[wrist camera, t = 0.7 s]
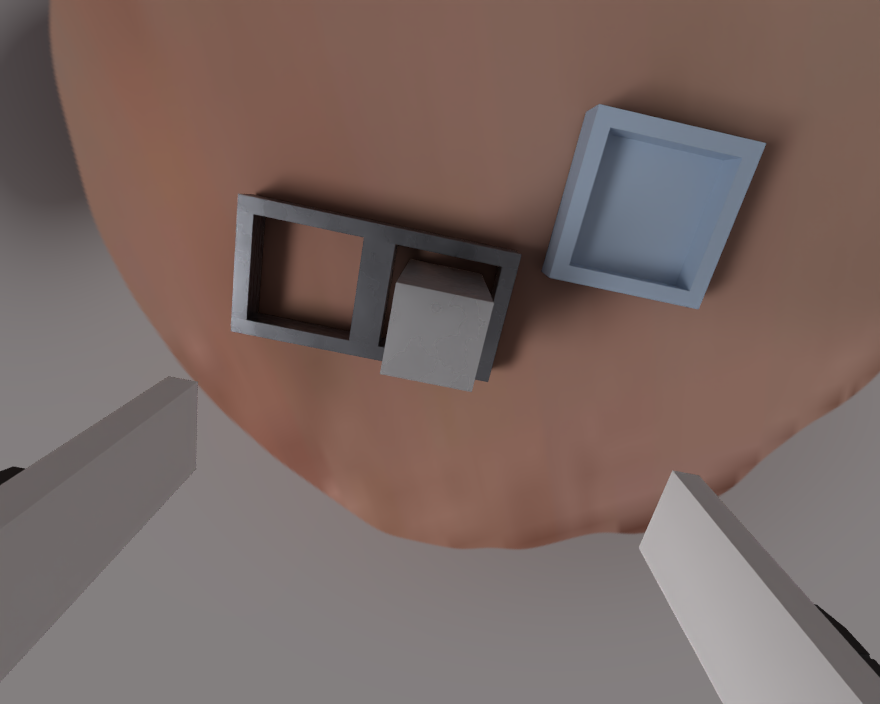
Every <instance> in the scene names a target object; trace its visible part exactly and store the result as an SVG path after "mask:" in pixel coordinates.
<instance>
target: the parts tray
mask: <svg viewBox="0 0 880 704" xmlns="http://www.w3.org/2000/svg"><path fill="white" fill-rule="evenodd" d="M765 145H766V143H763V142H759V141H755V140H751V139H746V138H742V137H738V136H733V135H729V134H725V133H721V132H716V131H712V130H708V129H704V128H699V127H695V126H691V125H686V124H682V123H678V122H674V121H669V120H665V119H661V118H657V117H652V116H648V115H644V114H639V113H635V112H631V111H627V110H622V109H618V108H614V107H610V106H605V105H601V104H598V105H597V106H595V107H594V108H592V109H590V110H589V111H587V112H586V114H585V118H584V122H583V125H582V129H581V132H580V136H579V139H578V143H577V146H576V150H575V154H574V157H573V161H572V164H571V168H570V171H569V175H568V179H567V182H566V186H565V189H564V193H563V196H562V200H561V203H560V207H559V211H558V214H557V218H556V221H555V225H554V228H553V232H552V235H551V239H550V243H549V246H548V250H547V253H546V257H545V260H544V264H543V268H542V271H541V272H543V273H544V274H545V275H546V276H548V277H549V278H553V279H558V280H562V281H567V282H572V283H577V284H581V285H586V286H591V287H595V288H600V289H605V290H610V291H614V292H619V293H624V294H628V295H633V296H638V297H643V298H647V299H652V300H657V301H661V302H666V303H671V304H676V305H680V306H685V307H690V308H694V309H699V307H700V304H701V302H702V300H703V297H704V295H705V292H706V290H707V287H708V285H709V282H710V280H711V278H712V275H713V273H714V270H715V268H716V265H717V263H718V260H719V258H720V255H721V253H722V251H723V248H724V246H725V243H726V241H727V238H728V236H729V233H730V231H731V229H732V226H733V224H734V221H735V219H736V216H737V214H738V211H739V209H740V207H741V204H742V202H743V199H744V197H745V194H746V192H747V189H748V187H749V184H750V182H751V180H752V177H753V175H754V172H755V170H756V167H757V165H758V162H759V160H760V158H761V155H762V153H763V150H764V148H765Z"/></svg>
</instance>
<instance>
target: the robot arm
mask: <svg viewBox="0 0 880 704" xmlns="http://www.w3.org/2000/svg"><path fill="white" fill-rule="evenodd" d="M197 393H198V382H196V381H191V380H185V379H180V378H175V377H167V378H165V379H164V380H162V381H160V382H159V383H157V384H156V385H154V386H153V387H151V388H150V389H148V390H147V391H145V392H143V393H142V394H140V395H139V396H137V397H136V398H134V399H133V400H131V401H130V402H128V403H127V404H125V405H123V406H122V407H120V408H119V409H117V410H116V411H114V412H113V413H111V414H110V415H108V416H107V417H105V418H103V419H102V420H100V421H99V422H97V423H96V424H94V425H93V426H91V427H89V428H88V429H86V430H85V431H83V432H82V433H80V434H79V435H77V436H76V437H74V438H73V439H71V440H70V441H68V442H66V443H65V444H63V445H62V446H60V447H59V448H57V449H56V450H54V451H52V452H51V453H49V454H48V455H46V456H45V457H43V458H42V459H40V460H39V461H37V462H35V463H34V464H32V465H31V466H29V467H28V468H26V469H24V468H19V467H11V468H8V469H5V470H3V471H0V682H1V680H3V679H4V677H5V676H6V675H7V674H8V673H9V672H10V671H11V670H12V669H13V668H14V667H15V665H16V664H17V663H18V662H19V661H20V660H21V659H22V658H23V657H24V656H25V654H26V653H27V652H28V651H29V650H30V649H31V648H32V647H33V646H34V645H35V644H36V643H37V641H38V640H39V639H40V638H41V637H42V636H43V635H44V634H45V633H46V632H47V631H48V629H50V627H51V626H52V625H53V624H54V623H55V622H56V621H57V620H58V619H59V618H60V617H61V615H62V614H63V613H64V612H65V611H66V610H67V609H68V608H69V607H70V606H71V605H72V603H73V602H74V601H75V600H76V599H77V598H78V597H79V596H80V595H81V594H82V593H83V592H84V590H85V589H86V588H87V587H88V586H89V585H90V584H91V583H92V582H93V581H94V580H95V578H96V577H97V576H98V575H99V574H100V573H101V572H102V571H103V570H104V569H105V568H106V566H107V565H108V564H109V563H110V562H111V561H112V560H113V559H114V558H115V557H116V556H117V555H118V553H119V552H120V551H121V550H122V549H123V548H124V547H125V546H126V545H127V544H128V543H129V542H130V540H131V539H132V538H133V537H134V536H135V535H136V534H137V533H138V532H139V531H140V530H141V528H142V527H143V526H144V525H145V524H146V523H147V522H148V521H149V520H150V518H152V516H153V515H154V514H155V513H156V512H157V511H158V510H159V509H160V508H161V507H162V505H164V503H165V502H166V501H167V500H168V499H169V498H170V497H171V496H172V495H173V494H174V492H175V491H176V490H177V489H178V488H179V487H180V486H181V485H182V484H183V483H184V482H185V481H186V480H187V478H188V477H189V476H190V475H191V474H192V473H193V472H194V471H195V470H196V440H197V437H196V436H197ZM639 549H640V551H641V553H642V555H643V557H644V559H645V560H646V562H647V564H648V566H649V568H650V570H651V572H652V573H653V575H654V577H655V579H656V581H657V583H658V585H659V586H660V588H661V590H662V592H663V594H664V595H665V597H666V599H667V601H668V603H669V605H670V607H671V609H672V610H673V612H674V614H675V616H676V618H677V620H678V621H679V623H680V625H681V627H682V629H683V631H684V633H685V634H686V636H687V638H688V639H689V642H690V644H691V646H692V647H693V649H694V651H695V653H696V655H697V656H698V659H699V660H700V662H701V664H702V666H703V668H704V669H705V671H706V673H707V675H708V677H709V679H710V681H711V683H712V684H713V686H714V688H715V690H716V692H717V694H718V696H719V697H720V699H721V701H722V703H723V704H880V665H879V664H878V663H877V662H876V661H875V660H874V659H871V658H870V656H869V655H870V654H869V653H868V652H867V651H866V650H865V649H864V647H863V646H861V644H860V643H859V642H858V641H857V640H856V639H855V638H854V637H853V636H852V634H851V633H850V632H849V631H848V630H847V629H846V628H845V627H844V626H842V625H841V624H840V623H839V622H837V621H836V620H835V619H834V618H832V617H831V616H830V615H829V614H827V613H826V612H825V611H824V610H823V609H821V608H820V607H819V606H818V605H815V604H813V602H812V601H810V599H809V598H808V597H807V596H806V595H805V594H804V593H803V591H802V590H801V589H800V588H799V587H798V586H797V585H796V584H795V583H794V581H793V580H792V579H791V578H790V577H789V576H788V575H787V573H786V572H785V571H784V570H783V569H782V568H781V567H780V566H779V565H778V564H777V562H776V561H775V560H774V559H773V558H772V557H771V556H770V554H769V553H768V552H767V551H766V550H765V549H764V548H763V547H762V546H761V544H760V543H759V542H758V541H757V540H756V539H755V538H754V537H753V535H752V534H751V533H750V532H749V531H748V530H747V529H746V528H745V527H744V525H743V524H742V523H741V522H740V521H739V520H738V519H737V518H736V516H734V514H733V513H732V512H731V511H730V510H729V509H728V508H727V506H726V505H725V504H724V503H723V502H722V501H721V500H720V499H719V497H718V496H717V495H716V494H715V493H714V492H713V491H712V490H711V489H710V487H709V486H708V485H707V484H706V483H705V482H704V481H703V480H702V478H701V477H700V476H699V475H694V474H689V473H683V472H678V471H672V473H671V475H670V477H669V480H668V482H667V484H666V487H665V489H664V491H663V493H662V496H661V498H660V500H659V503H658V505H657V507H656V509H655V512H654V514H653V516H652V519H651V521H650V523H649V525H648V528H647V530H646V532H645V534H644V537H643V539H642V541H641V544H640V546H639Z"/></svg>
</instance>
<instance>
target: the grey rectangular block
mask: <svg viewBox="0 0 880 704" xmlns="http://www.w3.org/2000/svg"><path fill="white" fill-rule="evenodd" d="M493 305H494V302H493V299H492V297H491V295H490V292H489V290H488V288H487V285H486V283H485V281H484V279H483V276H482V274H481V273H476V272H471V271H466V270H462V269H457V268H452V267H447V266H443V265H438V264H433V263H428V262H424V261H419V260H414V259H410V260H409V262H408V263H407V265H406V267H405V268H404V270H403V272H402V273H401V275H400V277H399V278H398V280H397V282H396V286H395V291H394V297H393V303H392V309H391V314H390V320H389V326H388V331H387V337H386V343H385V349H384V354H383V360H382V366H381V371H380V374H383V375H388V376H393V377H398V378H404V379H409V380H414V381H419V382H424V383H429V384H434V385H439V386H444V387H449V388H454V389H459V390H465V391H470V392H472V388H473V384H474V380H475V376H476V373H477V369H478V365H479V361H480V357H481V353H482V349H483V345H484V341H485V337H486V333H487V329H488V325H489V321H490V317H491V313H492V309H493Z"/></svg>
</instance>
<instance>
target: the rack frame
mask: <svg viewBox="0 0 880 704" xmlns="http://www.w3.org/2000/svg"><path fill="white" fill-rule="evenodd" d="M265 217H270V218H275V219H279V220H284V221H289V222H294V223H298V224H303V225H308V226H312V227H317V228H322V229H327V230H331V231H336V232H341V233H345V234H350V235H355V236H360V237H364V241H363V248H362V255H361V262H360V269H359V276H358V282H357V289H356V296H355V303H354V310H353V317H352V324H351V330H350V331H346V330H341V329H336V328H331V327H326V326H321V325H316V324H311V323H306V322H301V321H296V320H291V319H286V318H281V317H276V316H271V315H266V314H261V313H258V309H259V296H260V282H261V269H262V255H263V242H264V228H265ZM398 245H402V246H407V247H411V248H416V249H421V250H426V251H430V252H435V253H440V254H444V255H449V256H454V257H459V258H463V259H468V260H473V261H477V262H482V263H487V264H492V265H496V266H498V269H497V273H496V277H495V281H494V285H493V289H492V293H491V297H492V299H493V302H494V305H493V309H492V313H491V317H490V321H489V325H488V329H487V333H486V337H485V341H484V345H483V349H482V353H481V357H480V361H479V365H478V369H477V373H476V376H475V380H480V381H485V382H488V380H489V376H490V373H491V369H492V365H493V361H494V357H495V354H496V350H497V346H498V342H499V338H500V335H501V331H502V327H503V323H504V319H505V316H506V312H507V308H508V304H509V300H510V297H511V293H512V289H513V285H514V281H515V278H516V274H517V270H518V266H519V262H520V259H521V254H520V253H519V252H518V251H515V250H510V249H506V248H501V247H496V246H492V245H487V244H482V243H478V242H473V241H468V240H464V239H459V238H454V237H450V236H445V235H440V234H436V233H431V232H426V231H422V230H417V229H412V228H408V227H403V226H398V225H394V224H389V223H384V222H380V221H375V220H370V219H366V218H361V217H356V216H352V215H347V214H342V213H338V212H333V211H328V210H324V209H319V208H314V207H310V206H305V205H300V204H296V203H291V202H286V201H282V200H277V199H272V198H268V197H263V196H258V195H254V194H238V207H237V225H236V244H235V262H234V281H233V299H232V318H231V331H233V332H238V333H243V334H248V335H253V336H258V337H263V338H268V339H273V340H278V341H283V342H288V343H293V344H298V345H304V346H309V347H314V348H319V349H324V350H329V351H334V352H339V353H344V354H349V355H354V356H359V357H364V358H369V359H374V360H379V361H382V360H383V354H384V349H385V343H386V338H382V334H383V328H384V323H385V317H386V311H387V305H388V299H389V293H390V288H391V282H392V276H393V270H394V264H395V258H396V253H397V247H398Z"/></svg>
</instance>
